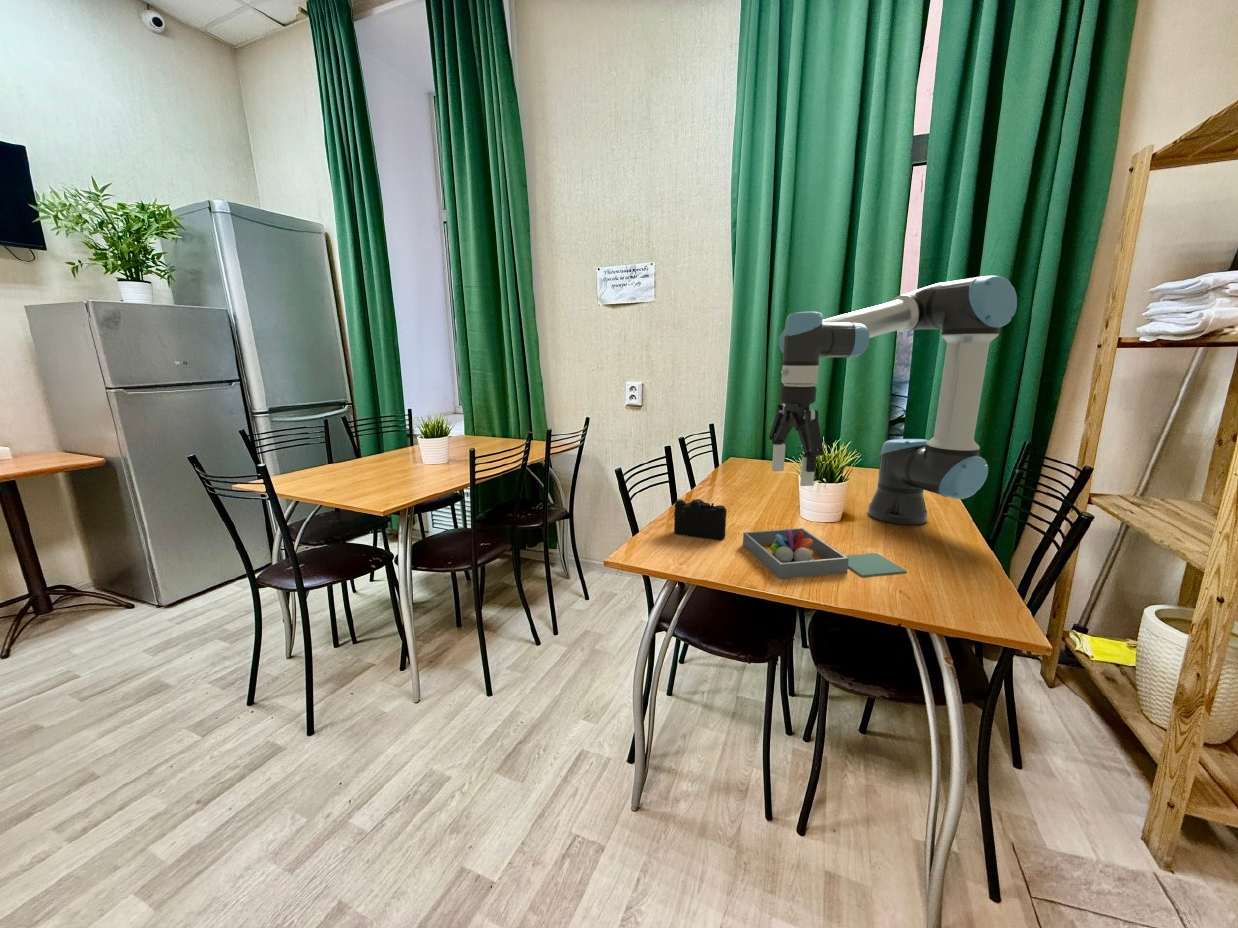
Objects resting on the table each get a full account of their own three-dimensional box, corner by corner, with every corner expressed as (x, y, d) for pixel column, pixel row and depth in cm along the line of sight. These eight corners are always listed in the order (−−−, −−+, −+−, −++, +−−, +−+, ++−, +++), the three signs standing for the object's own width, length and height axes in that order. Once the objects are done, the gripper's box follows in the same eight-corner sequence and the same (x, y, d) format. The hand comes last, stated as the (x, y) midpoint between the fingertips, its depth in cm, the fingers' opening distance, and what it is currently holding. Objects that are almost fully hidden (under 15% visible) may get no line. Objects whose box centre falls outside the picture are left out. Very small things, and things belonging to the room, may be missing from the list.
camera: (731, 529, 136) (733, 494, 134) (722, 542, 126) (724, 505, 124) (683, 522, 142) (684, 489, 139) (671, 535, 132) (672, 499, 130)
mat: (876, 554, 118) (876, 552, 118) (906, 572, 108) (906, 570, 108) (834, 558, 116) (834, 556, 116) (861, 576, 106) (862, 575, 106)
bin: (801, 540, 127) (802, 527, 126) (847, 572, 108) (848, 558, 108) (742, 545, 124) (743, 532, 123) (779, 579, 106) (780, 564, 105)
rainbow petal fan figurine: (815, 567, 111) (818, 537, 110) (771, 564, 113) (773, 535, 112) (809, 552, 120) (811, 524, 118) (768, 550, 121) (770, 522, 120)
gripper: (758, 381, 119) (753, 466, 124) (813, 389, 95) (804, 493, 100) (787, 381, 121) (781, 464, 125) (848, 389, 97) (837, 491, 101)
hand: (791, 477), depth 113 cm, fingers open, 13 cm apart
